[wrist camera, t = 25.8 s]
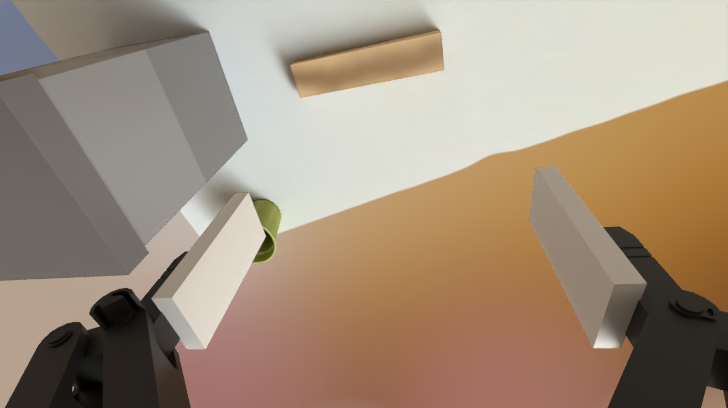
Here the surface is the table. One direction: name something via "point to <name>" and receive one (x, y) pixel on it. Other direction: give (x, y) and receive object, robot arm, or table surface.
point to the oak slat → (369, 64)
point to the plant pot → (267, 229)
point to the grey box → (108, 153)
